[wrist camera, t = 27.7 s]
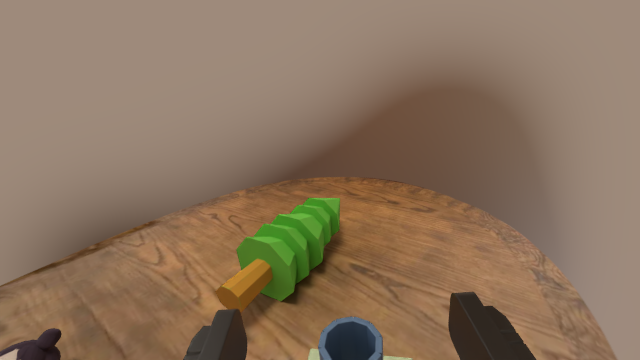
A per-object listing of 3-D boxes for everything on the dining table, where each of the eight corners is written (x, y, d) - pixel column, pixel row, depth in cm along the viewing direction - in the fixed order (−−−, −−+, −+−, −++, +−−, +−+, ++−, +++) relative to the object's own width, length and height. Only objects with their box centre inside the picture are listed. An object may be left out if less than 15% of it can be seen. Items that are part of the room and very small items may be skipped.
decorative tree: (200, 250, 39) (323, 163, 61) (202, 300, 46) (312, 206, 68) (268, 302, 35) (373, 190, 57) (259, 350, 42) (357, 232, 64)
